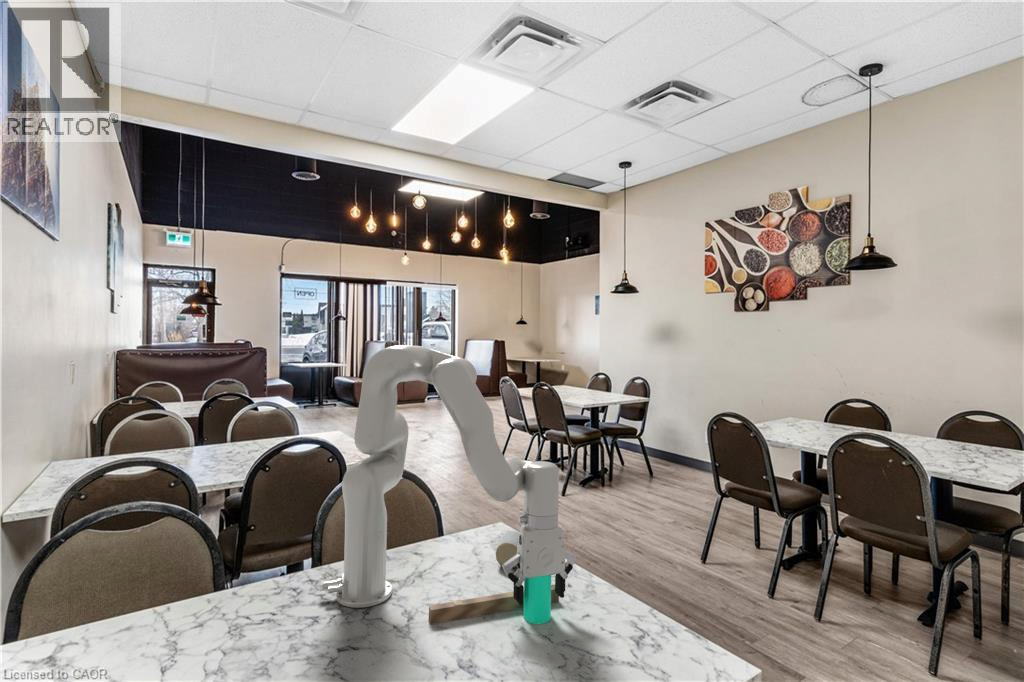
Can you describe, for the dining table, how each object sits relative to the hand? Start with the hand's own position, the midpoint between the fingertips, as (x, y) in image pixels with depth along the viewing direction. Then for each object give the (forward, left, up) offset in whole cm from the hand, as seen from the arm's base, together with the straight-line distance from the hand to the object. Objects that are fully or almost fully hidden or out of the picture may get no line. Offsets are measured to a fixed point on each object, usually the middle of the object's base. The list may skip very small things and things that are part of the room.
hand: (539, 598), depth 109 cm
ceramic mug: (+5, +27, -4) cm, 27 cm away
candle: (-1, 0, -4) cm, 4 cm away
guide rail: (-8, +6, -4) cm, 10 cm away
